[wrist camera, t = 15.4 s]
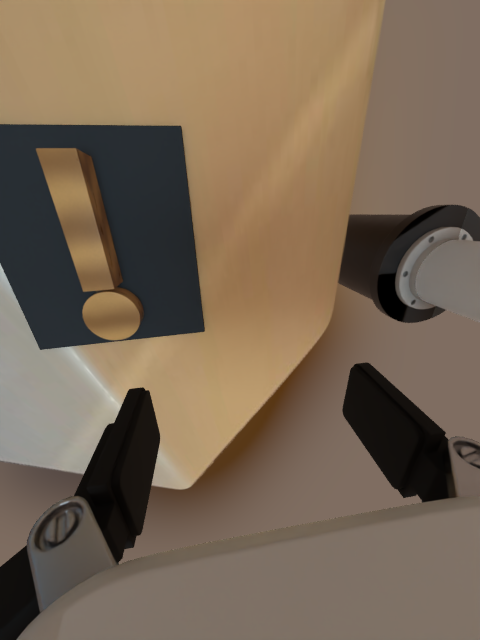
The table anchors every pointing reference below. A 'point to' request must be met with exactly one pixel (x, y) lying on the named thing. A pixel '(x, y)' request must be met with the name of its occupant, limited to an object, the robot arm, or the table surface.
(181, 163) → the mat
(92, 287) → the wooden disc with bar
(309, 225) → the table surface
